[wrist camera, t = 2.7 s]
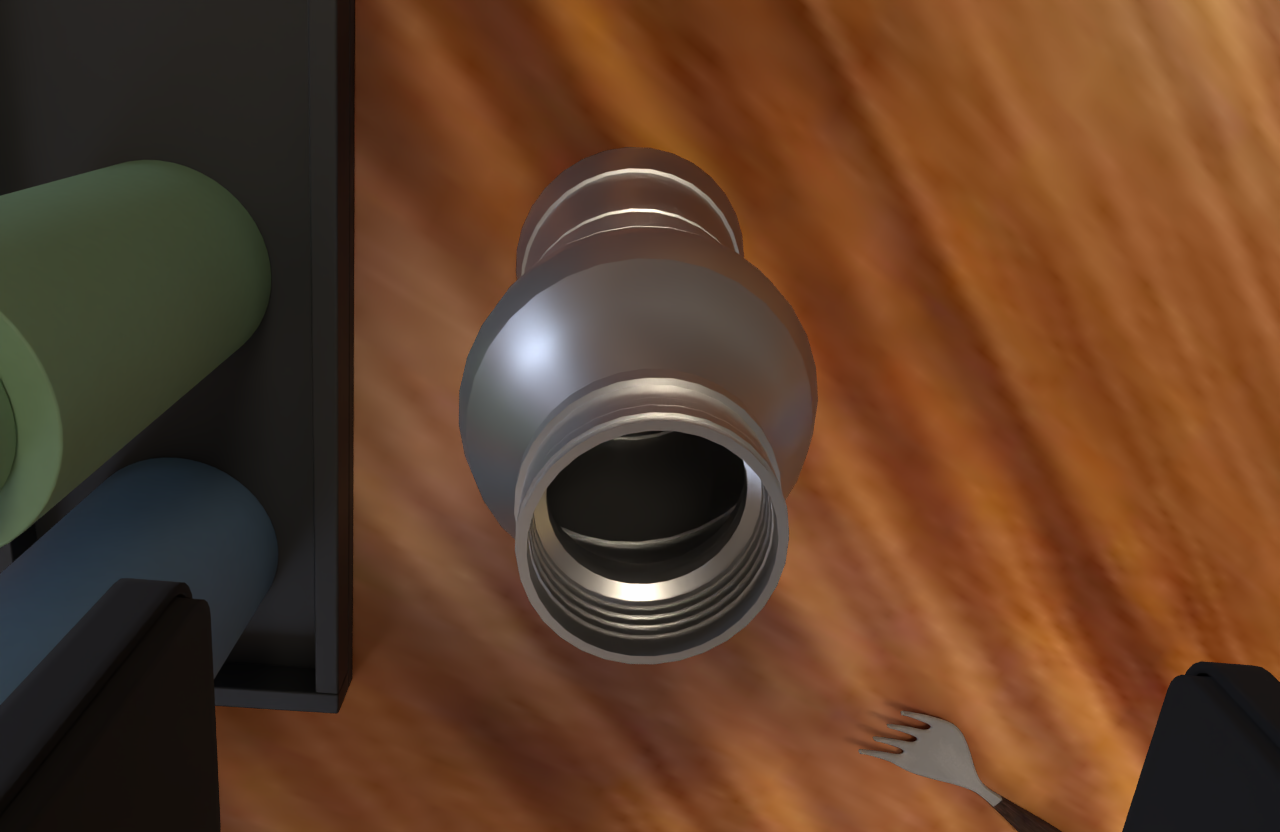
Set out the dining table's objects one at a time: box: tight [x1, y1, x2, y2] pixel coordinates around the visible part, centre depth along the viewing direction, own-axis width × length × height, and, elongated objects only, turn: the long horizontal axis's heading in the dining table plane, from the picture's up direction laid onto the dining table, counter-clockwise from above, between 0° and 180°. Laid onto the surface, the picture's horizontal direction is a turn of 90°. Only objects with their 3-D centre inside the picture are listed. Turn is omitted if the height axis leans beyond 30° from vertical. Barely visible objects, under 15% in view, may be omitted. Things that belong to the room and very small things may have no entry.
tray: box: [0, 0, 355, 713], centre depth 31 cm, size 30×11×2 cm, turn 174°
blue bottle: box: [0, 458, 278, 705], centre depth 25 cm, size 6×6×20 cm
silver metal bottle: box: [459, 147, 818, 664], centre depth 23 cm, size 6×7×20 cm
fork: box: [859, 711, 1061, 832], centre depth 39 cm, size 3×16×2 cm, turn 50°
